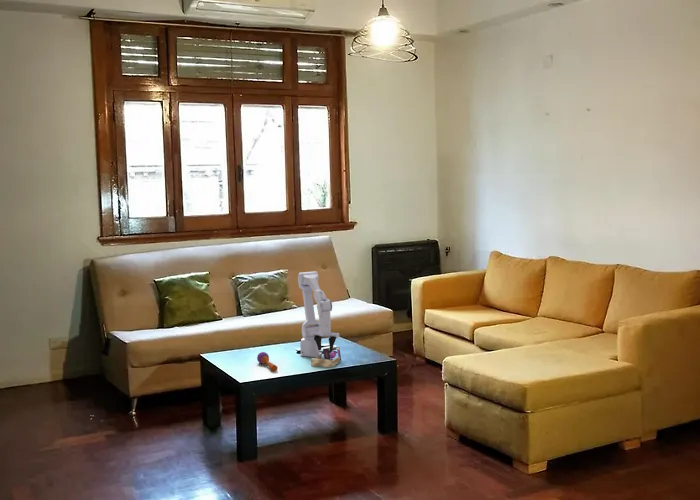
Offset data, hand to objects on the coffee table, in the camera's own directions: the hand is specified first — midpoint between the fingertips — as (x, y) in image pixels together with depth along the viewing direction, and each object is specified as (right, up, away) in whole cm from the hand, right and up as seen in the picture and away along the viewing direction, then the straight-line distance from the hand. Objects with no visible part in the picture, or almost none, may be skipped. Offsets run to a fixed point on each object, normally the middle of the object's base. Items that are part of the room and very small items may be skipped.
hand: (325, 350), depth 385 cm
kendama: (-29, -8, -3) cm, 30 cm away
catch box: (0, -7, 0) cm, 7 cm away
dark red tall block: (+3, -6, +8) cm, 10 cm away
